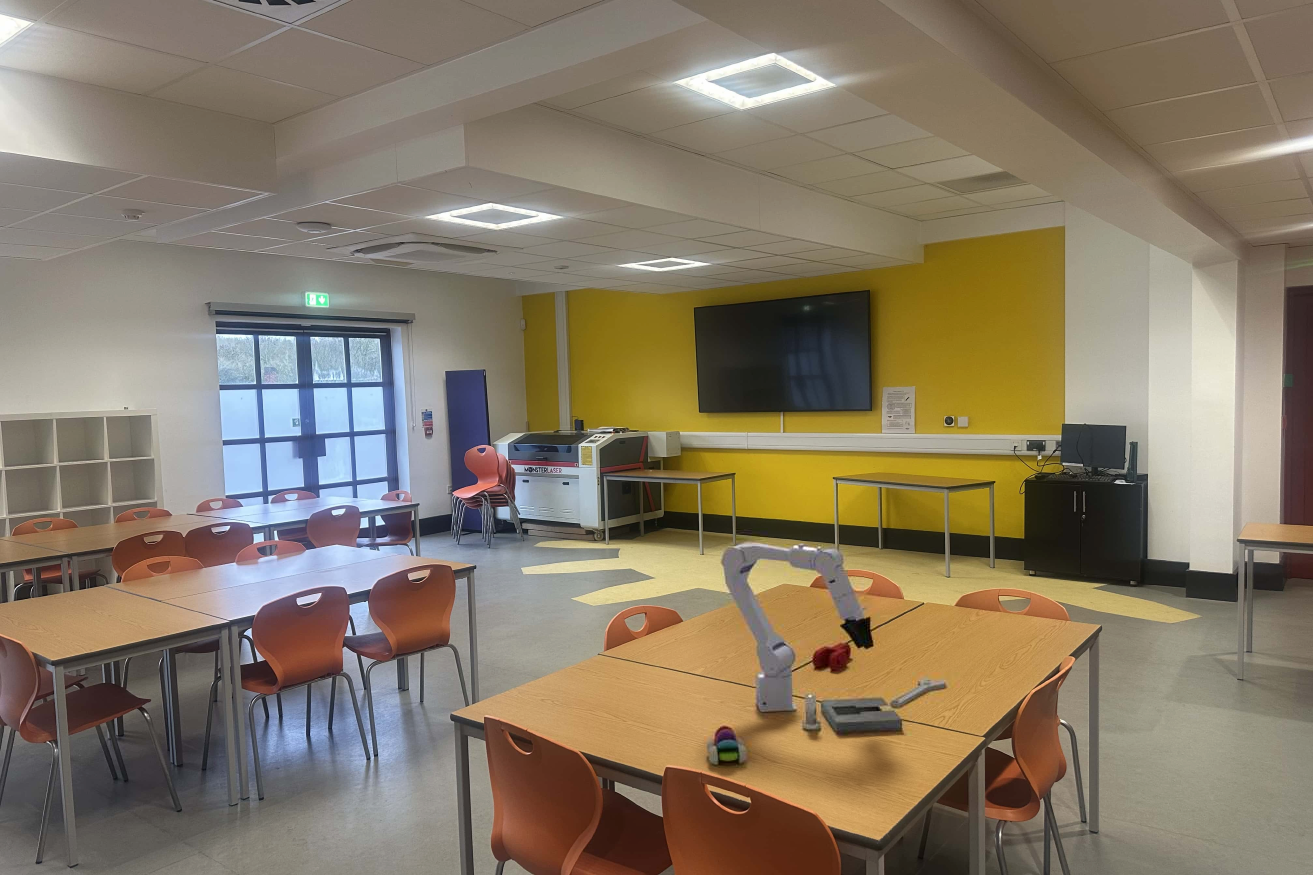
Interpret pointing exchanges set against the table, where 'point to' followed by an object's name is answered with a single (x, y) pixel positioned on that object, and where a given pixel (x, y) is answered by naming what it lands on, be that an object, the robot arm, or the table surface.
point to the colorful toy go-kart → (726, 746)
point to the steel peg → (811, 714)
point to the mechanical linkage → (832, 656)
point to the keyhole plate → (860, 715)
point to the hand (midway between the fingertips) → (865, 647)
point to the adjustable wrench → (917, 691)
